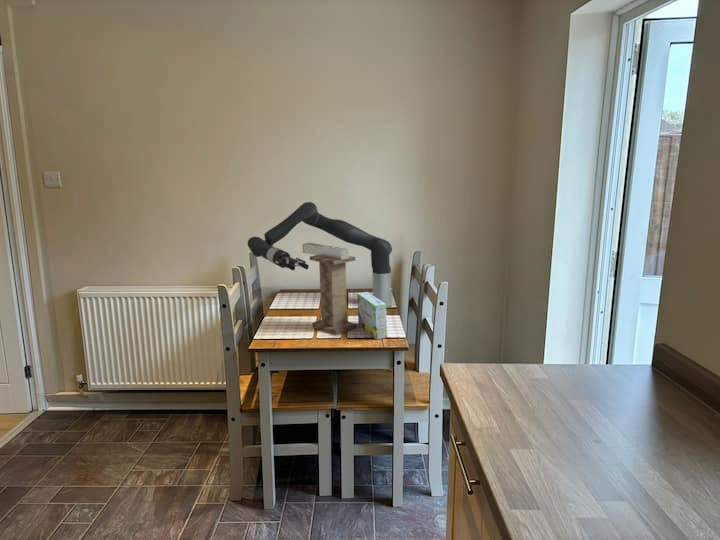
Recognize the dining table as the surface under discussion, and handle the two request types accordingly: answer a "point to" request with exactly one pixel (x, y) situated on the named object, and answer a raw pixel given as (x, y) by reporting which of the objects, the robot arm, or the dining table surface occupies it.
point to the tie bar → (325, 251)
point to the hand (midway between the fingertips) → (301, 267)
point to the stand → (333, 295)
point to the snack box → (372, 315)
